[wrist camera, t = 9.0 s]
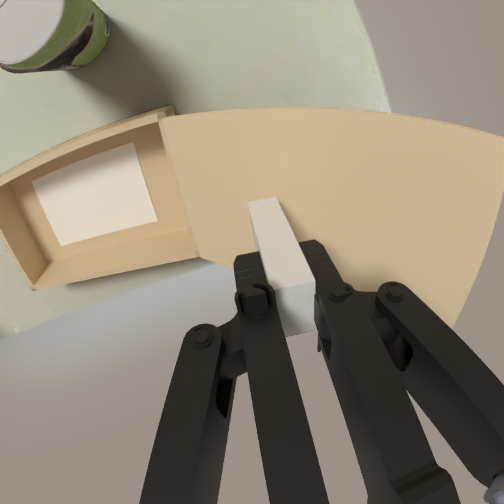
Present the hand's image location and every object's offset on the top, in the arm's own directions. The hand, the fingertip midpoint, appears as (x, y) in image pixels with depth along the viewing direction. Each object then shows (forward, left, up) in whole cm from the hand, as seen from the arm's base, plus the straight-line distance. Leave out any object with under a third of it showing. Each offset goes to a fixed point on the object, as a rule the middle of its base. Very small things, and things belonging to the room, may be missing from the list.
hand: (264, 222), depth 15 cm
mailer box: (-15, 0, -12) cm, 19 cm away
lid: (+2, 0, 0) cm, 2 cm away
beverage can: (-11, +15, -12) cm, 22 cm away
